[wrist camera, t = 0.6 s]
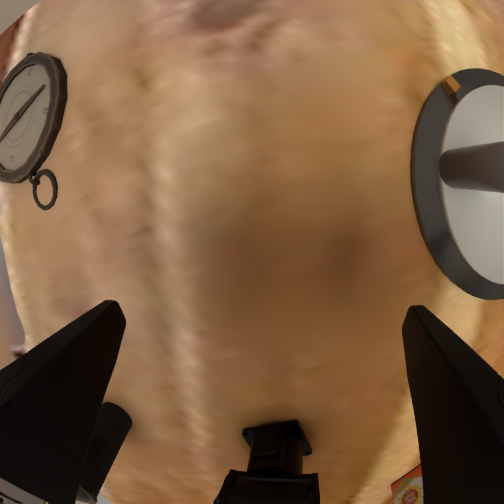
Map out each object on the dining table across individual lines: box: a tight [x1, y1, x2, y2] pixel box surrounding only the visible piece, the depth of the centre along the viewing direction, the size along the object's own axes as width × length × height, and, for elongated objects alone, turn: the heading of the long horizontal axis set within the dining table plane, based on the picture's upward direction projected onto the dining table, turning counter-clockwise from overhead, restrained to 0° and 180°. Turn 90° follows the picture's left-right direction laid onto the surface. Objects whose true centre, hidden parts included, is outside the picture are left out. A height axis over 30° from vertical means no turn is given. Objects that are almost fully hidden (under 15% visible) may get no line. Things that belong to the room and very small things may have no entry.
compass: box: [0, 52, 67, 210], centre depth 23 cm, size 20×16×2 cm
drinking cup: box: [48, 402, 132, 504], centre depth 21 cm, size 8×8×20 cm
